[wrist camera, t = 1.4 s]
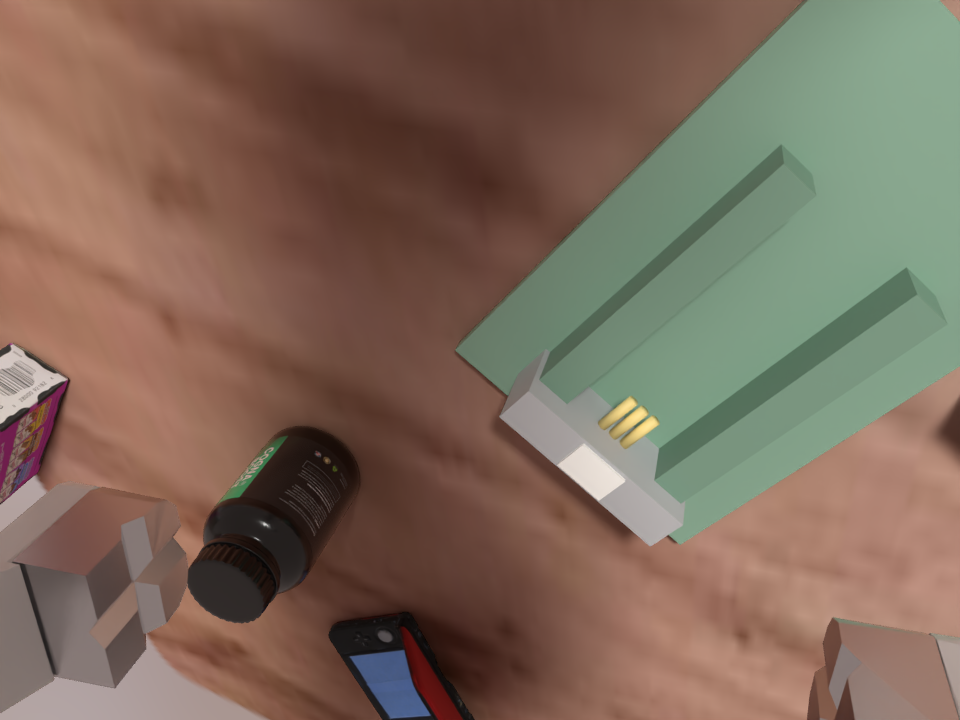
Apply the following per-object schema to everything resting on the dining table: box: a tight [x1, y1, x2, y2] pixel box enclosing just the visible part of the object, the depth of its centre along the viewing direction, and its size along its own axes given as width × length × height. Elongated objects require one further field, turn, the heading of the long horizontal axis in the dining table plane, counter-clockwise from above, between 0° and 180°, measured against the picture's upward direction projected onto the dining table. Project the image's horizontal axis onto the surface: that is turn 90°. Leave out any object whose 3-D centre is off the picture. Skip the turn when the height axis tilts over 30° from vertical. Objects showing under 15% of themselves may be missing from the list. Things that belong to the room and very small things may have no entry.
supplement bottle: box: [187, 426, 360, 623], centre depth 53 cm, size 7×7×12 cm
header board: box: [455, 0, 960, 546], centre depth 41 cm, size 28×18×6 cm, turn 141°
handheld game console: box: [329, 612, 474, 720], centre depth 63 cm, size 12×11×7 cm
